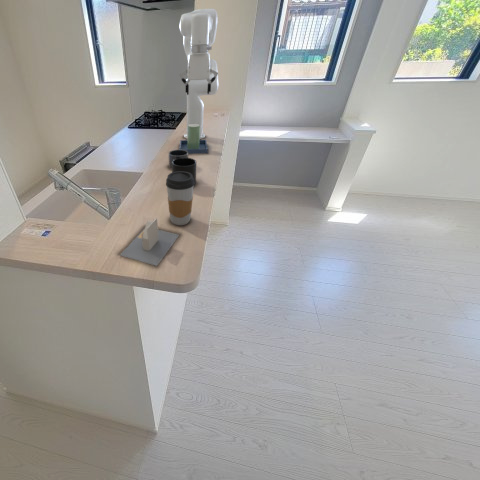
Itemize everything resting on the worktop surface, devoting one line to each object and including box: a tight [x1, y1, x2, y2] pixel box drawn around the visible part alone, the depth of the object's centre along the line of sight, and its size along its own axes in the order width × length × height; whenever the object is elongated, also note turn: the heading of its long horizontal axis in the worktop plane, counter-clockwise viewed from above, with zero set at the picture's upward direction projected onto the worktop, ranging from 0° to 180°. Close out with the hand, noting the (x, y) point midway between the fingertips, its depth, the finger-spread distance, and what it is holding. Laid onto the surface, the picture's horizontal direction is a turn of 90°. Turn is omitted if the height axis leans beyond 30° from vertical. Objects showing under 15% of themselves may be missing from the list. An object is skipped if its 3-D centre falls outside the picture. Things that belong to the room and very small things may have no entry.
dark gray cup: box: [168, 149, 189, 170], centre depth 121 cm, size 9×9×6 cm
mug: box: [171, 157, 197, 186], centre depth 106 cm, size 9×12×9 cm
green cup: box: [186, 124, 201, 149], centre depth 138 cm, size 6×6×12 cm
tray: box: [178, 139, 209, 155], centre depth 141 cm, size 16×14×2 cm
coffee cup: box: [165, 171, 195, 226], centre depth 81 cm, size 8×8×15 cm
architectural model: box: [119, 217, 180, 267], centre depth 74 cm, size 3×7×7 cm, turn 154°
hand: (197, 94), depth 127 cm, fingers open, 9 cm apart
